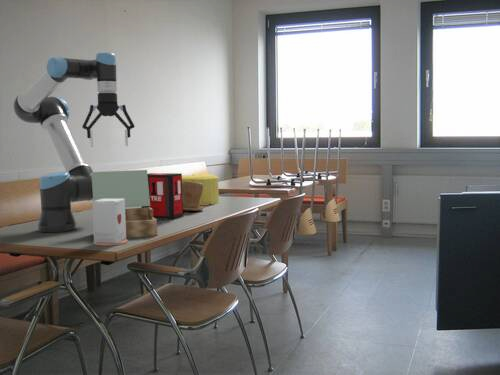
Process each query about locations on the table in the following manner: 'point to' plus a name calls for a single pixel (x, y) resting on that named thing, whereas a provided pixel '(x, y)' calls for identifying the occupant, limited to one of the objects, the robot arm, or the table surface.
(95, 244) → the tan round disc
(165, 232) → the table surface
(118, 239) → the supplement box
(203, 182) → the cheese
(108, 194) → the sage green board
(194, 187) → the brown tapered block
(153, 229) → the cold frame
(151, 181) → the cleaning product box
